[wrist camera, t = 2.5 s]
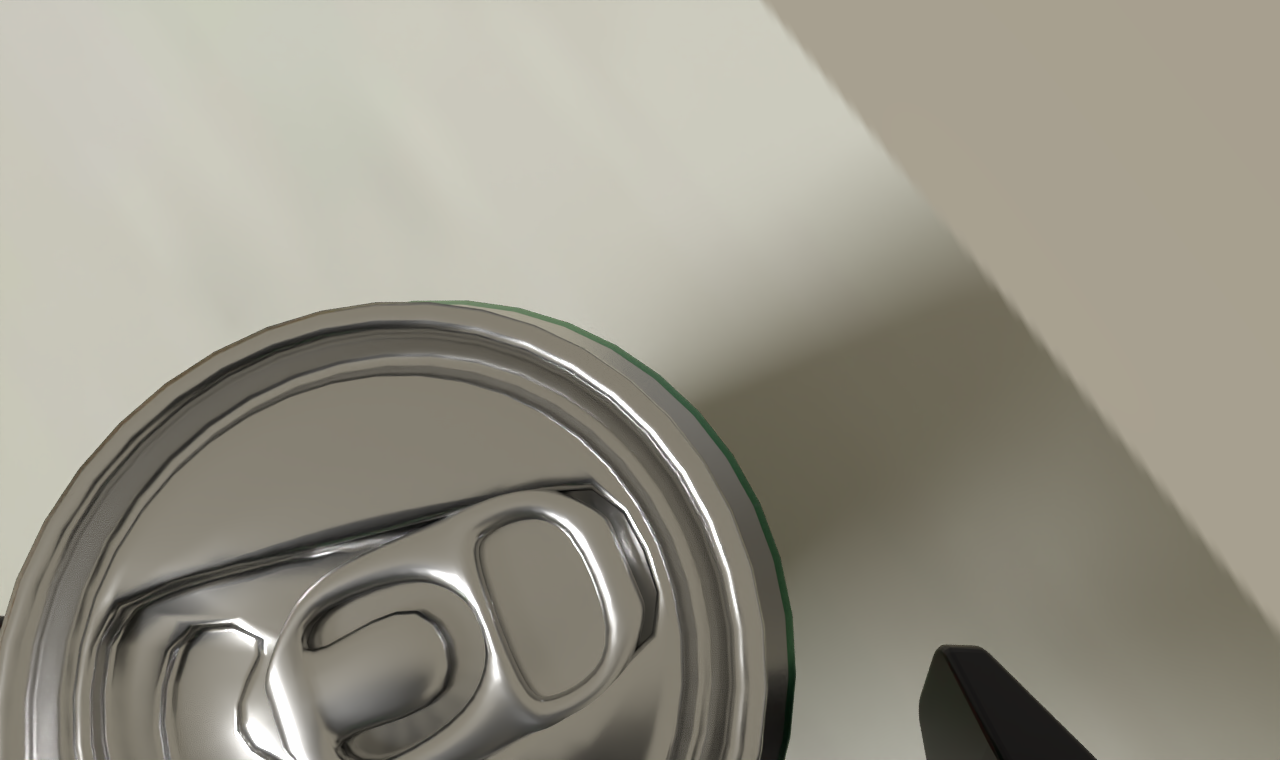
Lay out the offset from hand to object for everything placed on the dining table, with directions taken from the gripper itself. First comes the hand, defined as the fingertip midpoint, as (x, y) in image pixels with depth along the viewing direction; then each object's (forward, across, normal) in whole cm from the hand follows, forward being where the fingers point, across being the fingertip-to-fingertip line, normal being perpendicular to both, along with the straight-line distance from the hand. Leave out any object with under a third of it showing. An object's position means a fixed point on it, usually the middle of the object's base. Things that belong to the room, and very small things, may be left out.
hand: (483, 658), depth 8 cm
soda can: (+6, 0, +6) cm, 8 cm away
